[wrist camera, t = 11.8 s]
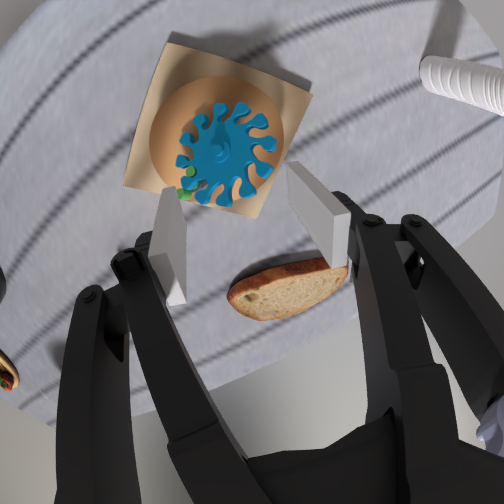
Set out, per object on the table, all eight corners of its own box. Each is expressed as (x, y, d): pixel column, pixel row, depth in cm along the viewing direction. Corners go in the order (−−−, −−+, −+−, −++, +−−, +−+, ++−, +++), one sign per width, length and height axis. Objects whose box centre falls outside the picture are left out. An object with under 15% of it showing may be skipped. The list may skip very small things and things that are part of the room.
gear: (233, 79, 22) (296, 158, 20) (257, 103, 27) (311, 173, 26) (150, 154, 26) (192, 236, 24) (184, 164, 31) (224, 235, 30)
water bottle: (449, 85, 30) (577, 138, 11) (426, 98, 32) (564, 160, 12) (431, 38, 25) (573, 70, 6) (407, 48, 27) (562, 82, 7)
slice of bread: (354, 261, 49) (363, 274, 46) (294, 325, 56) (299, 339, 53) (278, 219, 41) (286, 232, 38) (217, 301, 48) (219, 317, 45)
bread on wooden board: (125, 181, 32) (115, 199, 28) (168, 43, 24) (162, 37, 19) (254, 213, 39) (262, 234, 34) (308, 93, 30) (327, 97, 26)
